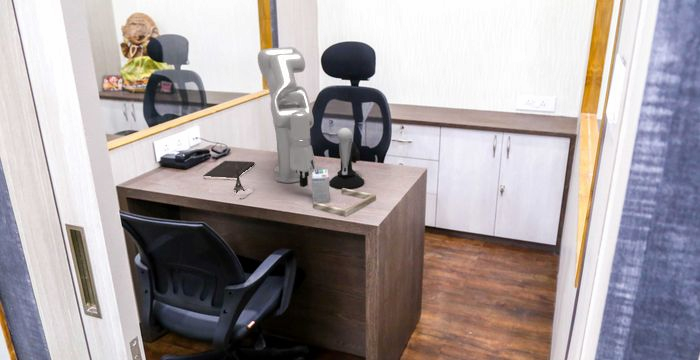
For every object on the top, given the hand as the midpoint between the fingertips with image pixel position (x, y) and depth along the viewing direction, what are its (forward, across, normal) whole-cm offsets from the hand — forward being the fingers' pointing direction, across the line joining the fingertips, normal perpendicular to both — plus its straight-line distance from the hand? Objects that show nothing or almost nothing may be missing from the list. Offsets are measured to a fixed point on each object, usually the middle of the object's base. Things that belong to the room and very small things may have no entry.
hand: (304, 185), depth 214 cm
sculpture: (+4, +5, +24) cm, 25 cm away
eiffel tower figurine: (+4, -24, -13) cm, 28 cm away
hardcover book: (+4, -51, +4) cm, 51 cm away
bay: (+4, +21, 0) cm, 21 cm away
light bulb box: (+4, +9, 0) cm, 10 cm away
